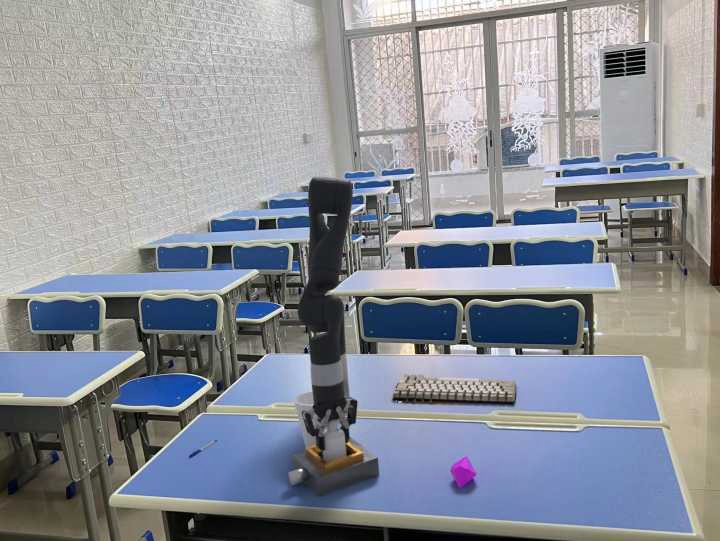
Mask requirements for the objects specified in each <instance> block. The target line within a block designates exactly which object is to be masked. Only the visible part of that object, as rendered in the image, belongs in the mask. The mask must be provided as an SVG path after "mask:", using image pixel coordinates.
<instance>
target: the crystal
mask: <svg viewBox="0 0 720 541" xmlns="http://www.w3.org/2000/svg"><path fill="white" fill-rule="evenodd" d="M449 472H450V474H451V476H452V478H453V480H454V481H455V482H456V484H457V486H458V488H460V489H461V488H462V487H464V486H465V485H466V484H467V483H469V482H470V481H471V480H472V479H474V478H475V477H476V476H477V472H476V470H475V468H474V467H473V464H472V463H471V460H470V459H469V457H468V455H465V456H464V457H462V458H460V459H459V460H457V461H456V462H454V463H453V464H452V465H451V468H450V470H449Z"/></svg>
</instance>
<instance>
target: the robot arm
mask: <svg viewBox="0 0 720 541" xmlns="http://www.w3.org/2000/svg"><path fill="white" fill-rule="evenodd" d="M307 190H308V191H307V206H308V221H309V222H308V224H309V238H308V259H307V260H308V261H307V262H308V263H307V264H308V265H307V270H308V271H307V272H308V280H307V283H306V286H305V288H304V291H303V293H302V295H301V297H300V299H299V302H298V305H297V318H298V320H299V322H300V323H301V324H302V325H303V326H304V327H305V326H306V327H307V328H308V330H309V332H311V333H312V334H313V333H314V334H315V335H312V337H310V339H309V341H308V348H309V360H310V370H309V371H310V379H311V380H310V382H311V392H312V393H313V401H314V404H313V407H312V409H310V410H308V411H305V410H303V411H302V417H303V420H304V423H305V427H306V430H307V433H309V434H310V435H311V436H312V437H314V436H315V437H316V446H317V447H318V448H319V449H320V450H321V451H324V450H325V442H324V436H323V433H324V429H325V428H326V426H327V423H328V422H330V421H332V420H338V422H339V424H340V427H339V429H342V430H343V431H344V434H345V443H348V440H349V439H350V437H351V436H350V426H352V425H355V424H356V423H357V413H358V400H357V399H355V398H354V397H352V396H351V395H350V384H349V382H350V381H349V372H348V360H347V350H346V349H347V348H346V331H345V304H344V301H343V300H342V298H341V297H340V296H339V295H336V294H327V293H328V292H330V291H332V290H333V291H334V290H335V289H336V288H337V287H338V286H339V283H340V275H341V273H342V269H343V268H342V267H343V255H344V254H343V253H344V252H343V247H344V244H345V240H346V235H347V231H348V227H349V221H350V217H351V212H352V205H353V197H354V196H353V195H354V194H353V193H354V192H353V191H354V187H353V183H352V181H351V180H350V179H348V178H344V177H342V178H341V177H333V176H331V177H329V176H314V177H312V178H311V180H310V181H309V184H308V189H307ZM324 214H325V215H336V219H335V221H334V223H333V225H332V226H331V227H330V228H329V227H328V225H327V224H326V222H325V218H324V216H323V215H324ZM346 411H347V412H346ZM344 412H346V414H347V415H345V414H344ZM314 413H315V414H316V415H317V418H316V426H315V429H314V425H313V422H312V419H313V415H314Z"/></svg>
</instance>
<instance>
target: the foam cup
mask: <svg viewBox="0 0 720 541" xmlns="http://www.w3.org/2000/svg"><path fill="white" fill-rule="evenodd" d="M313 404H314V401H313V393H312V391H310V392H309V391H308V392H305V393H301V394H300V395H298V396H296V397H295V398H294V407H295V408H294V409H295V411H296V413H297V418H298V422H299V426H300V430H301V434H302V439H303V443H304V447H305V448H307V447H310V446H313V445H316V437H315V436H314V437H312V436H311V435H310V434H309V433H307V430H306V427H305V423H304V420H303V417H302V411H303V410H305V411H308V410H310V409H312V407H313ZM316 418H317V415H316V414H315V413H314V415H313V419H312V422H313V425H314V429H315V426H316ZM325 430H327V426H326V428H325V429H324V431H325Z"/></svg>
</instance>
